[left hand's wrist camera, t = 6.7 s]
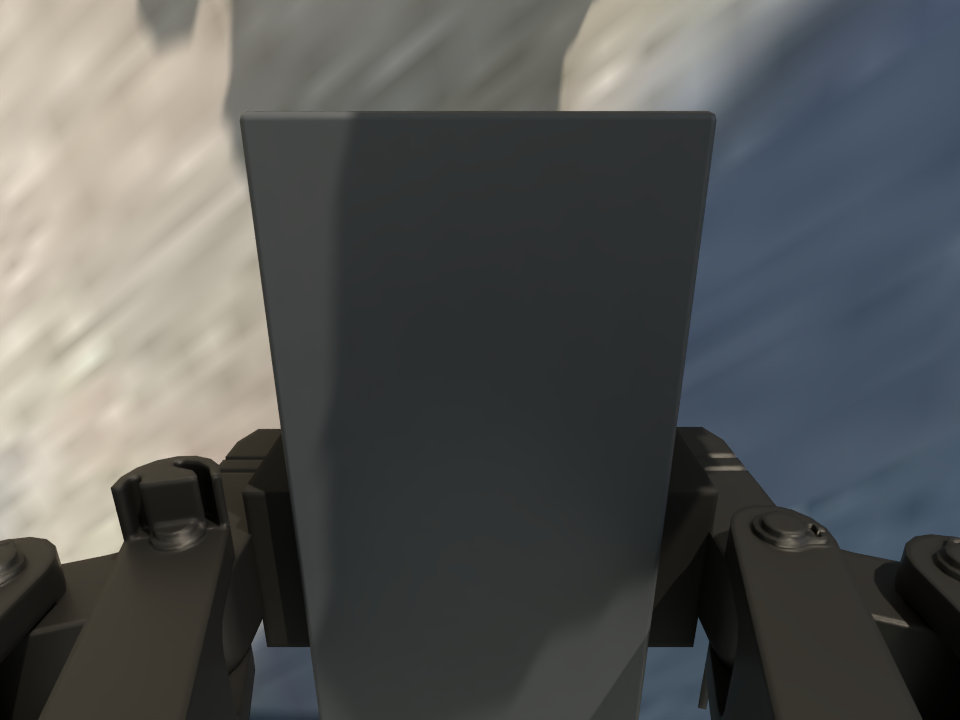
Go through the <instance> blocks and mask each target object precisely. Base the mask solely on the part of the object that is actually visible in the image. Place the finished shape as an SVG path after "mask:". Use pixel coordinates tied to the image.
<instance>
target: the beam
mask: <svg viewBox="0 0 960 720" xmlns="http://www.w3.org/2000/svg"><path fill="white" fill-rule="evenodd" d="M240 126H241V133H242V141H243V148H244V156H245V163H246V171H247V178H248V186H249V193H250V201H251V208H252V216H253V223H254V231H255V238H256V246H257V253H258V261H259V268H260V276H261V283H262V291H263V298H264V305H265V313H266V320H267V328H268V335H269V343H270V350H271V358H272V365H273V373H274V380H275V388H276V395H277V403H278V410H279V418H280V425H281V433H282V440H283V448H284V455H285V463H286V470H287V478H288V485H289V493H290V500H291V508H292V515H293V523H294V530H295V538H296V545H297V552H298V560H299V567H300V575H301V582H302V590H303V597H304V605H305V612H306V620H307V627H308V635H309V642H310V650H311V657H312V665H313V672H314V680H315V687H316V695H317V702H318V710H319V717H320V720H638V719H639V711H640V703H641V696H642V688H643V680H644V673H645V665H646V657H647V650H648V642H649V634H650V627H651V619H652V611H653V603H654V596H655V588H656V580H657V573H658V565H659V557H660V550H661V542H662V534H663V527H664V519H665V511H666V504H667V496H668V488H669V481H670V473H671V465H672V458H673V450H674V442H675V435H676V427H677V419H678V412H679V404H680V396H681V389H682V381H683V373H684V366H685V358H686V350H687V342H688V335H689V327H690V319H691V312H692V304H693V296H694V289H695V281H696V273H697V266H698V258H699V250H700V243H701V235H702V227H703V220H704V212H705V204H706V197H707V189H708V181H709V174H710V166H711V158H712V151H713V143H714V135H715V128H716V116H715V114H714V113H712V112H709V111H247V112H245V113H243V114H241V118H240Z"/></svg>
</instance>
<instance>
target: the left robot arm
mask: <svg viewBox="0 0 960 720" xmlns="http://www.w3.org/2000/svg"><path fill="white" fill-rule="evenodd" d="M111 491H112V495H113V499H114V503H115V507H116V511H117V515H118V518H119V522H120V526H121V530H122V534H123V538H124V543H123V545H122V547H121V549H120V551H119V552H118V553H114V554H110V555H106V556H101V557H96V558H91V559H86V560H81V561H76V562H71V563H66V564H61V563H60V559H59V556H58V553H57V549H56V546H55V545H53V544H52V543H51V542H49V541H48V540H47V539H41V538H34V537H26V538H17V539H7V540H3V541H0V720H249V716H250V708H251V700H252V691H253V683H254V675H255V665H254V658H253V652H252V646H251V643H252V641H253V639H254V637H255V634H256V632H257V630H258V628H259V626H260V623H261V621H262V619H263V624H264V630H265V636H266V642H267V647H310V642H309V635H308V627H307V620H306V612H305V605H304V597H303V590H302V582H301V575H300V567H299V560H298V552H297V545H296V538H295V530H294V523H293V515H292V508H291V500H290V493H289V485H288V478H287V470H286V463H285V455H284V448H283V440H282V433H281V429H258V430H256V431H255V432H253V433H251V434H250V435H248V436H246V437H245V438H243V439H242V440H240V441H238V442H237V443H236V445H235V446H234V447H233V448H232V450H231V451H230V452H229V453H228V455H227V456H226V460H223V461H222V462H221V463H220V465H218V464H217V463H216V462H214V461H213V460H211V459H208V458H204V457H199V456H177V457H172V458H167V459H162V460H157V461H154V462H151V463H149V464H146V465H143V466H140V467H138V468H136V469H134V470H132V471H131V472H129V473H127V474H125V475H124V476H122V477H121V478H120V479H119V480H118V481H117V482H116V483H115V484H114V485H113V486H112V487H111ZM698 617H699V619H700V622H701V624H702V626H703V628H704V630H705V633H706V635H707V637H708V639H709V646H708V652H707V658H706V663H705V669H704V675H703V680H702V686H701V692H700V698H699V704H698V708H702V709H706V707H707V702H708V698H709V707H710V715H711V720H960V538H958V537H952V536H941V535H932V534H930V535H923V536H916V537H914V538H912V539H911V540H910V541H908V542H907V543H906V545H905V548H904V551H903V555H902V558H901V561H900V562H898V561H893V560H888V559H883V558H878V557H873V556H868V555H863V554H858V553H853V552H849V551H845V550H841V549H840V548H839V546H838V544H837V542H836V540H835V539H834V537H833V536H832V535H831V534H830V532H829V531H828V530H827V529H826V528H825V527H824V526H822V525H821V524H819V523H818V522H816V521H815V520H813V519H812V518H810V517H808V516H805V515H803V514H801V513H798V512H796V511H794V510H791V509H786V508H782V507H777V506H776V505H775V504H774V503H773V501H772V500H771V499H770V498H769V496H768V495H767V494H766V493H765V491H764V490H763V489H762V488H761V486H760V485H759V484H758V483H757V481H756V480H755V479H754V478H753V477H752V475H751V474H750V473H749V472H748V471H745V467H744V465H743V464H742V463H741V462H740V460H739V459H738V458H735V454H734V453H733V452H732V450H731V449H730V448H729V447H728V445H727V444H726V443H725V442H724V440H722V439H721V438H719V437H718V436H716V435H714V434H713V433H711V432H709V431H708V430H706V429H704V428H703V427H676V435H675V442H674V450H673V458H672V465H671V473H670V481H669V488H668V496H667V504H666V511H665V519H664V527H663V534H662V542H661V550H660V557H659V565H658V573H657V580H656V588H655V596H654V603H653V611H652V619H651V627H650V634H649V642H648V647H693V645H694V639H695V633H696V627H697V621H698Z"/></svg>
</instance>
